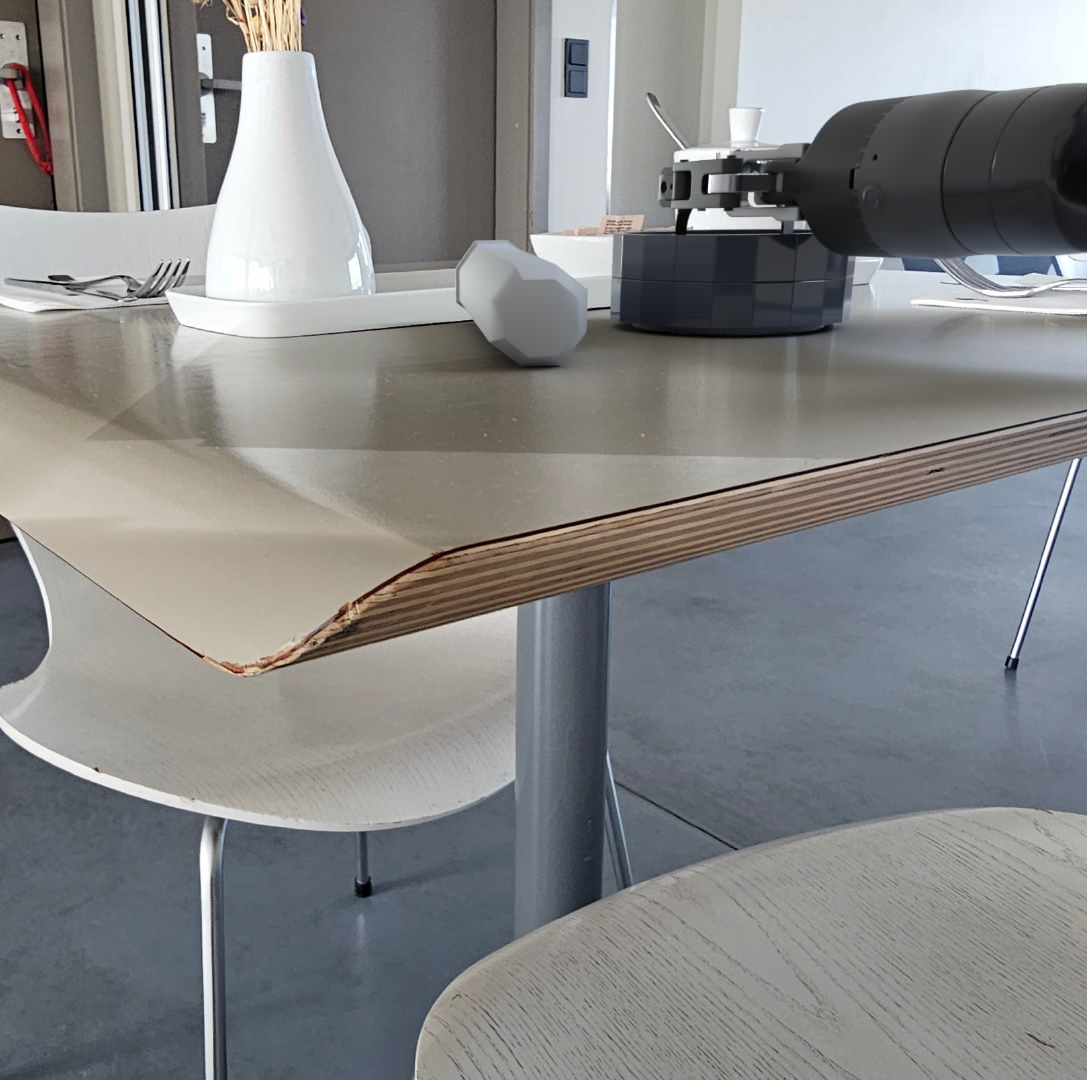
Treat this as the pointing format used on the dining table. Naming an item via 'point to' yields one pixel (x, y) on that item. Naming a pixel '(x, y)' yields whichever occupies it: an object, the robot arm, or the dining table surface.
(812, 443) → the dining table surface
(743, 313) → the bowl
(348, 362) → the dining table surface
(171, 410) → the dining table surface
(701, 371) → the dining table surface
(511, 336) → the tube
